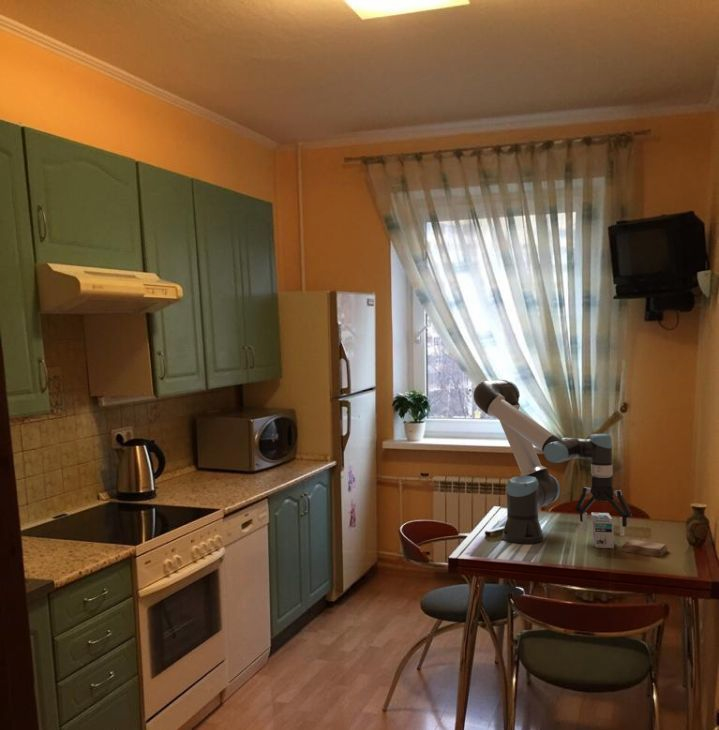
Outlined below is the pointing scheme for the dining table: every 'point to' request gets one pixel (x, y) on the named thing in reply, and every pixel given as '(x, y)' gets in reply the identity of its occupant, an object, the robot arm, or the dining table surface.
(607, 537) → the light bulb box
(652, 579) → the dining table surface
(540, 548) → the dining table surface
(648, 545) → the brown flat tray
